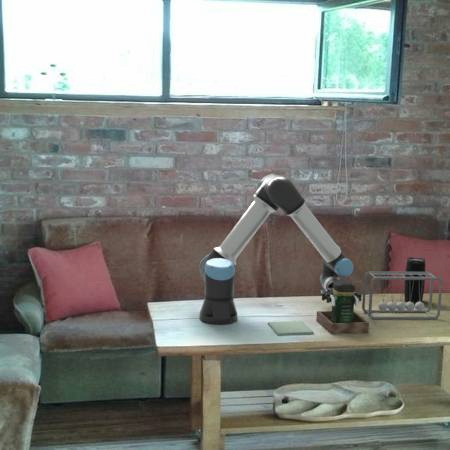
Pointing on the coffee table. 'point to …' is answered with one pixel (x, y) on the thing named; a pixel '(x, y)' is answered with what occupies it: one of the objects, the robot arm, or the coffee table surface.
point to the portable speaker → (414, 266)
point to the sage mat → (290, 328)
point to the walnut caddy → (342, 324)
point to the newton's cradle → (401, 305)
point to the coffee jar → (343, 301)
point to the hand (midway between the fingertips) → (345, 302)
